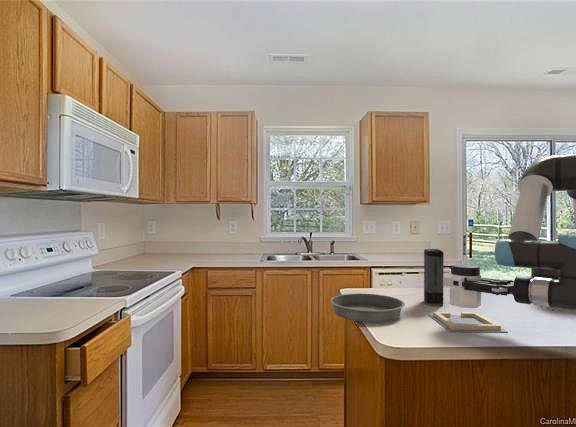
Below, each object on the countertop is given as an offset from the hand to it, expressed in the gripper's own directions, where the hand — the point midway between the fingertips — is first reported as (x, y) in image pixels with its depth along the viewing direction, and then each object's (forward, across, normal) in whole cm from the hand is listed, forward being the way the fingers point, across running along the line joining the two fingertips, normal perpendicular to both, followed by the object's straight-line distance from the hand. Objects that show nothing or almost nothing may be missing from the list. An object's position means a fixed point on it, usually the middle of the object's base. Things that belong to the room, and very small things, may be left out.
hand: (447, 280), depth 122 cm
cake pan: (+22, -12, -13) cm, 28 cm away
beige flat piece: (-5, 0, -13) cm, 14 cm away
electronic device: (+14, +19, -13) cm, 27 cm away
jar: (-5, 0, -7) cm, 9 cm away
